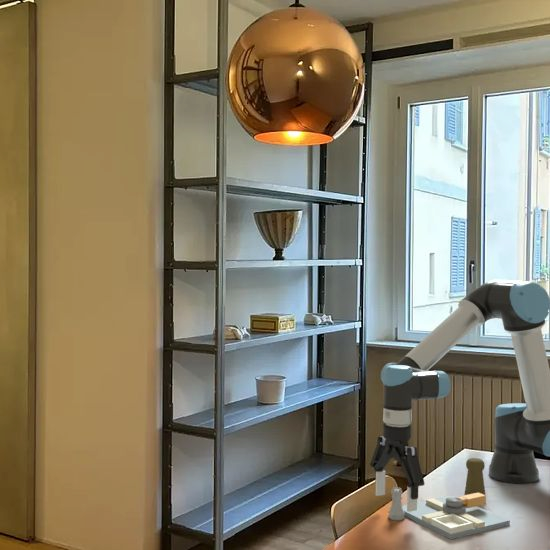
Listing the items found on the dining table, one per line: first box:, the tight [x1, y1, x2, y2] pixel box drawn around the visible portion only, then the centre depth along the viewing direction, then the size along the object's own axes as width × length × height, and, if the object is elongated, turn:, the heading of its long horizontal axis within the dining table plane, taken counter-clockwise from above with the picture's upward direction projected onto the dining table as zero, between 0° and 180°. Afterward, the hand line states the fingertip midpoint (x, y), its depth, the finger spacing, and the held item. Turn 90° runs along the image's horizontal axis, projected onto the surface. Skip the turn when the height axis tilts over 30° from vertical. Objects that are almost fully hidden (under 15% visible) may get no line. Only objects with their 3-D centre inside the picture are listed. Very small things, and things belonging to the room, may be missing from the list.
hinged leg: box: [446, 492, 487, 508], centre depth 195 cm, size 12×4×2 cm, turn 118°
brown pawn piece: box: [463, 457, 486, 496], centre depth 212 cm, size 6×6×11 cm
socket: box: [431, 514, 473, 534], centre depth 185 cm, size 7×7×2 cm
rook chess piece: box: [387, 486, 406, 522], centre depth 194 cm, size 4×4×8 cm
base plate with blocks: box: [402, 495, 510, 540], centre depth 195 cm, size 20×22×4 cm
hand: (395, 502), depth 194 cm, fingers open, 13 cm apart
